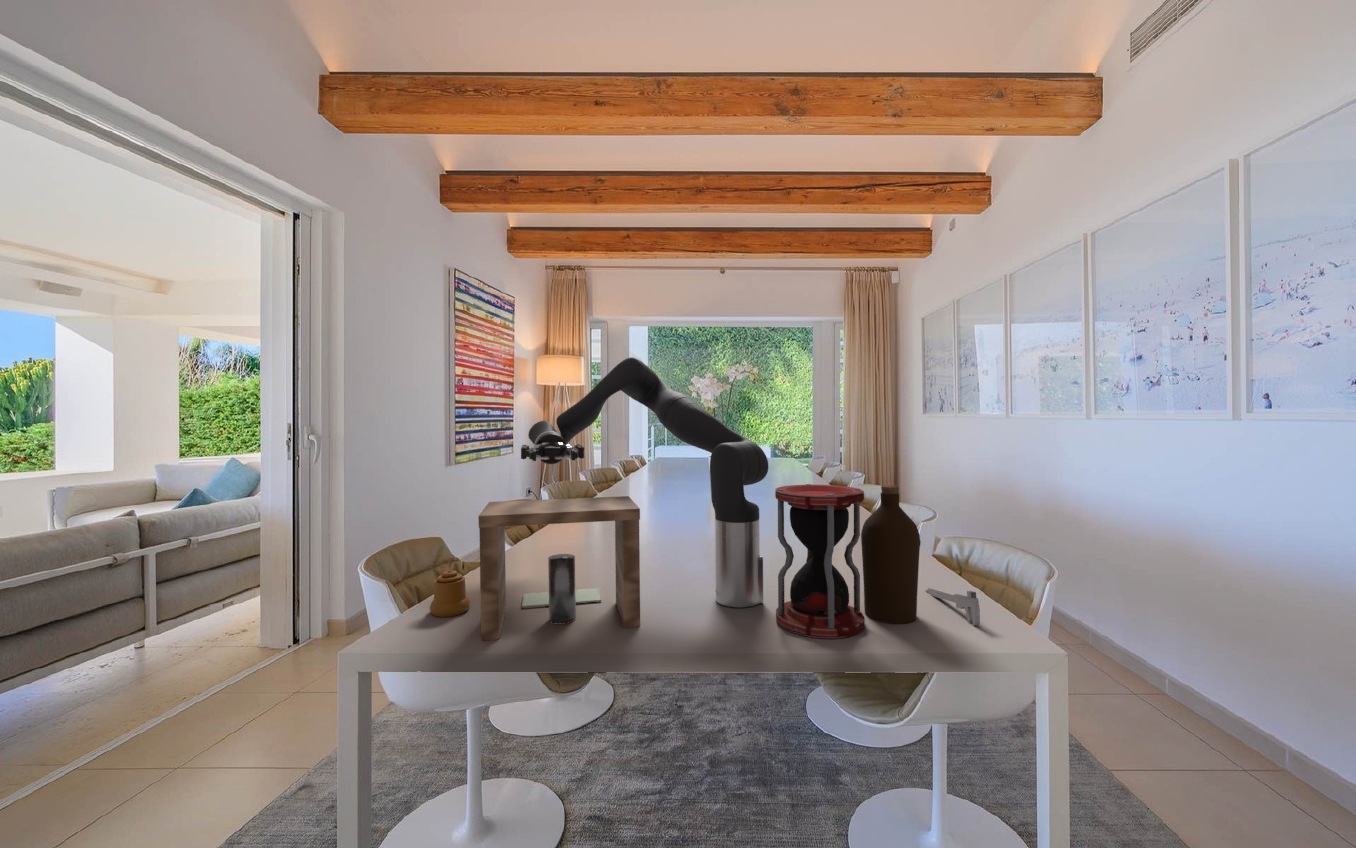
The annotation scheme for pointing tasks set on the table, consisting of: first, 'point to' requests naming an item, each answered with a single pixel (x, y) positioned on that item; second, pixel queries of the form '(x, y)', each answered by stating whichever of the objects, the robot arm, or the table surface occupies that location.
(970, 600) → the caliper
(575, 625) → the table surface
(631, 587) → the shelf
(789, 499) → the hourglass
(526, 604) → the mat
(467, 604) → the ornamental finial
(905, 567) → the olive oil
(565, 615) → the canister
